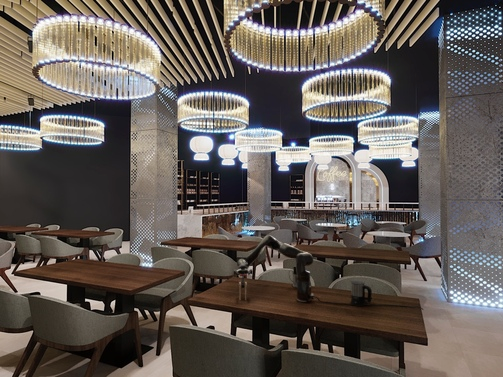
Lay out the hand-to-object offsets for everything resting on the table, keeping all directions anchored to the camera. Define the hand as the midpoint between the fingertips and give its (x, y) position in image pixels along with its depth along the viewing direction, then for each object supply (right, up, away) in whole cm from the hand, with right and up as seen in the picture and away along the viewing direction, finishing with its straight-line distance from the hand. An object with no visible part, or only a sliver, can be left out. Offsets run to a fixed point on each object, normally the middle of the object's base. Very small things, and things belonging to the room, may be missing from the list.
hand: (243, 274), depth 244 cm
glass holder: (+42, -17, +25) cm, 52 cm away
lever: (0, -3, -9) cm, 9 cm away
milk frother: (+83, -16, -16) cm, 86 cm away
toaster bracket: (0, -15, -14) cm, 20 cm away
